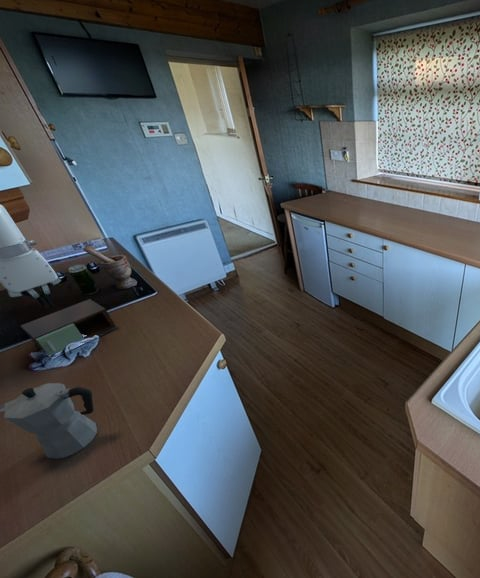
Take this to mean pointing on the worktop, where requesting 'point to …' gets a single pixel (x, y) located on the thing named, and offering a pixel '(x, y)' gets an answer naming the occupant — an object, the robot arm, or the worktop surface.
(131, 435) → the worktop surface
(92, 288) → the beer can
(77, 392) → the coffeepot
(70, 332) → the sliding door
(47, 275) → the robot arm
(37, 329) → the cupboard
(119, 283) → the mortar and pestle
